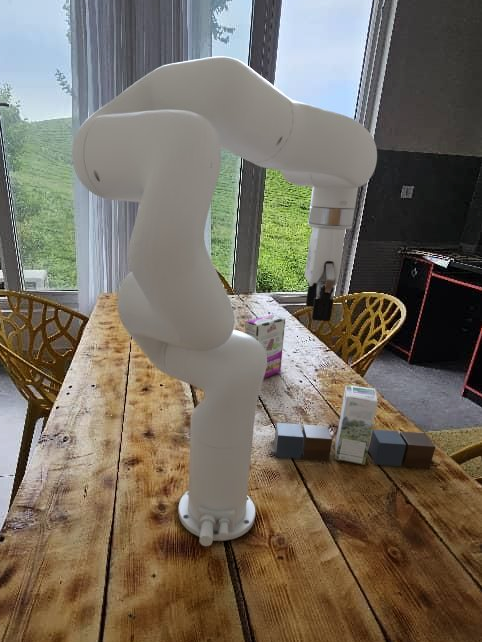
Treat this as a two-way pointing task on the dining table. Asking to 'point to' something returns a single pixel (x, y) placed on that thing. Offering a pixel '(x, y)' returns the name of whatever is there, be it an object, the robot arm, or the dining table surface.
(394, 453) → the slate block
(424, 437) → the walnut block
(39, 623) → the dining table surface
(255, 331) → the candy bar box
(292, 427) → the slate block
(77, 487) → the dining table surface
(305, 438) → the walnut block
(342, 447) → the syrup box
